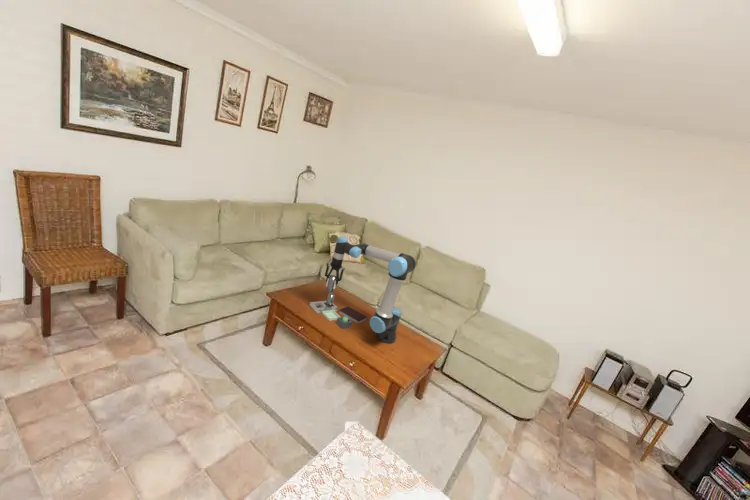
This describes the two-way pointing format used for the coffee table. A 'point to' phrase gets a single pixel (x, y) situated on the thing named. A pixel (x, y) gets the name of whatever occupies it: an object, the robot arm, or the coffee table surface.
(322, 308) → the pallet
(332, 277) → the billet
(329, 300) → the seated billet
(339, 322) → the console
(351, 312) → the book
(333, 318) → the green plate
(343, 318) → the button
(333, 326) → the coffee table surface
